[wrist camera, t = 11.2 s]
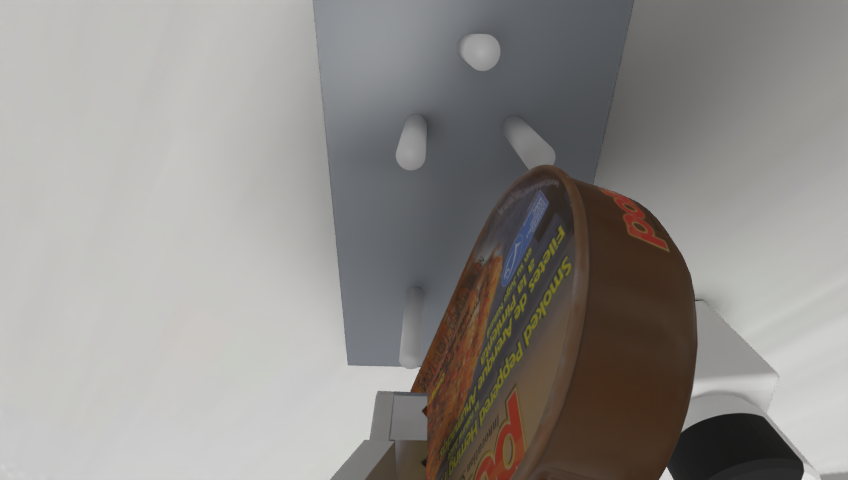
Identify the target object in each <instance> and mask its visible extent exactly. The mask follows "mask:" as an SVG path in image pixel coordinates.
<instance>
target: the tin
mask: <svg viewBox="0 0 848 480" xmlns="http://www.w3.org/2000/svg"><path fill="white" fill-rule="evenodd" d="M697 348H698V337H697V315H696V306H695V297H694V290H693V285H692V280H691V275H690V272H689V270H688V267H687V265H686V263H685V260H684V258H683V256H682V254H681V252H680V251H679V249H678V248H677V246H676V245H675V243H674V242H673V240H672V239H671V237H670V236H669V234H668V233H667V231H666V230H665V229H664V227H663V226H662V225H661V223H660V222H659V221H658V219H657V218H656V217H655V216H654V215H653V214H652V213H651V212H650V211H649V210H648V209H646V208H645V207H644V206H642V205H641V204H639V203H638V202H636V201H634V200H632V199H630V198H627V197H625V196H623V195H621V194H618V193H616V192H613V191H610V190H607V189H604V188H601V187H598V186H595V185H592V184H589V183H586V182H583V181H580V180H577V179H574V178H571V177H570V176H569V175H568V174H567V173H565V172H564V171H563V170H561V169H560V168H558V167H556V166H553V165H539V166H536V167H534V168H532V169H530V170H529V171H527V172H525V173H524V174H522V175H521V176H520V177H519V178H518V179H517V180H516V181H515V182H514V183H513V184H512V185H511V186H510V187H509V188H508V189H507V190H506V191H505V192H504V193H503V195H502V196H501V198H500V199H499V200H498V202H497V203H496V205H495V207H494V208H493V210H492V211H491V213H490V215H489V217H488V218H487V220H486V222H485V224H484V226H483V228H482V230H481V232H480V234H479V236H478V238H477V240H476V242H475V245H474V247H473V249H472V251H471V253H470V256H469V258H468V260H467V262H466V265H465V267H464V269H463V272H462V274H461V276H460V279H459V281H458V283H457V286H456V288H455V290H454V293H453V295H452V297H451V299H450V302H449V304H448V307H447V309H446V311H445V313H444V316H443V318H442V320H441V323H440V325H439V327H438V329H437V332H436V334H435V336H434V338H433V341H432V343H431V345H430V347H429V350H428V352H427V354H426V356H425V359H424V361H423V363H422V366H421V368H420V370H419V373H418V375H417V377H416V379H415V382H414V384H413V386H412V389H411V392H414V393H427V457H426V480H659V479H660V477H661V475H662V474H663V472H664V470H665V468H666V467H667V465H668V463H669V461H670V458H671V456H672V453H673V451H674V449H675V446H676V444H677V442H678V440H679V437H680V434H681V431H682V428H683V425H684V422H685V418H686V415H687V412H688V408H689V403H690V399H691V394H692V390H693V384H694V375H695V367H696V358H697Z"/></svg>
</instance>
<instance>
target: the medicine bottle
mask: <svg viewBox="0 0 848 480" xmlns="http://www.w3.org/2000/svg"><path fill="white" fill-rule="evenodd" d="M695 306H696V315H697V337H698V348H697V358H696V367H695V375H694V384H693V390H692V394H691V399H690V403H689V408H688V412H687V415H686V418H685V422H684V425H683V428H682V431H681V434H680V437H679V440H678V442H677V444H676V446H675V449H674V451H673V453H672V456H671V458H670V461H669V463H668V465H667V468H668V470H669V472H670V473H671V475H672V477H673V479H674V480H821V479H820V476H819V474H818V472H817V471H816V470H815V469H814V468H813V466H812V465H811V464H810V463H809V462H808V461H807V460H806V458H805V457H804V456H803V455H802V454H801V453H800V452H799V450H798V449H797V448H796V447H795V446H794V445H793V444H792V442H791V441H790V440H789V439H788V438H787V437H786V436H785V434H784V433H783V432H782V431H781V430H780V429H779V428H778V426H777V425H776V424H775V423H774V422H773V421H772V420H771V418H770V417H769V416H768V415H767V414H766V413H767V410H768V407H769V405H770V402H771V399H772V397H773V394H774V391H775V389H776V386H777V383H778V381H779V375H778V373H777V372H776V371H775V370H774V369H773V368H772V367H771V366H770V365H769V364H768V363H767V362H766V361H765V360H764V359H763V358H762V357H761V356H760V355H759V354H758V353H757V352H756V351H755V350H754V349H753V348H752V347H751V346H750V345H749V344H748V343H747V342H746V341H745V340H744V339H743V338H742V337H741V336H739V335H738V334H737V333H736V332H735V331H734V330H733V329H732V328H731V327H730V326H729V325H728V324H727V323H726V322H725V321H724V320H723V319H722V318H721V317H720V316H719V315H718V314H717V313H716V312H715V311H714V310H713V309H712V308H711V307H710V306H709V305H708V304H707V303H706V302H704V301H695Z"/></svg>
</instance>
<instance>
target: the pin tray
mask: <svg viewBox="0 0 848 480" xmlns="http://www.w3.org/2000/svg"><path fill="white" fill-rule="evenodd" d="M633 3H634V0H313V7H314V17H315V27H316V38H317V48H318V58H319V69H320V79H321V90H322V100H323V110H324V121H325V131H326V142H327V152H328V162H329V173H330V183H331V194H332V204H333V214H334V225H335V235H336V246H337V256H338V266H339V277H340V287H341V298H342V308H343V318H344V329H345V339H346V350H347V360H348V365H358V366H397V367H405V368H407V369H414V368H417V367H421V366H422V363H423V361H424V359H425V356H426V354H427V352H428V350H429V347H430V345H431V343H432V341H433V338H434V336H435V334H436V332H437V329H438V327H439V325H440V323H441V320H442V318H443V316H444V313H445V311H446V309H447V307H448V304H449V302H450V299H451V297H452V295H453V293H454V290H455V288H456V286H457V283H458V281H459V279H460V276H461V274H462V272H463V269H464V267H465V265H466V262H467V260H468V258H469V256H470V253H471V251H472V249H473V247H474V245H475V242H476V240H477V238H478V236H479V234H480V232H481V230H482V228H483V226H484V224H485V222H486V220H487V218H488V217H489V215H490V213H491V211H492V210H493V208H494V207H495V205H496V203H497V202H498V200H499V199H500V198H501V196H502V195H503V193H504V192H505V191H506V190H507V189H508V188H509V187H510V186H511V185H512V184H513V183H514V182H515V181H516V180H517V179H518V178H519V177H520V176H521V175H522V174H524V173H525V172H527V171H529V170H530V169H532V168H534V167H536V166H539V165H553V166H556V167H558V168H560V169H561V170H563V171H564V172H565V173H567V174H568V175H569V176H570V177H571V178H574V179H577V180H580V181H583V182H586V183H589V184H592V185H593V182H594V177H595V173H596V168H597V164H598V159H599V155H600V151H601V146H602V142H603V137H604V133H605V128H606V124H607V119H608V115H609V110H610V106H611V101H612V97H613V92H614V88H615V83H616V79H617V75H618V70H619V66H620V61H621V57H622V52H623V48H624V43H625V39H626V34H627V30H628V25H629V21H630V16H631V12H632V7H633Z"/></svg>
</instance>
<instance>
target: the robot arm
mask: <svg viewBox="0 0 848 480" xmlns="http://www.w3.org/2000/svg"><path fill="white" fill-rule="evenodd" d="M426 457H427V393H414V392H389V391H378V392H377V395H376V400H375V406H374V413H373V420H372V427H371V433H370V440H364V441H363V442H362V444H361V445H360V446H359V447H358V448H357V449H356V450H355V452H354V453H353V454H352V455H351V456H350V457H349V458H348V460H347V461H346V462H345V463H344V464H343V465H342V467H341V468H340V469H339V470H338V471H337V472H336V473H335V475H334V476H333V477H332V478H331V479H330V480H426Z"/></svg>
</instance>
